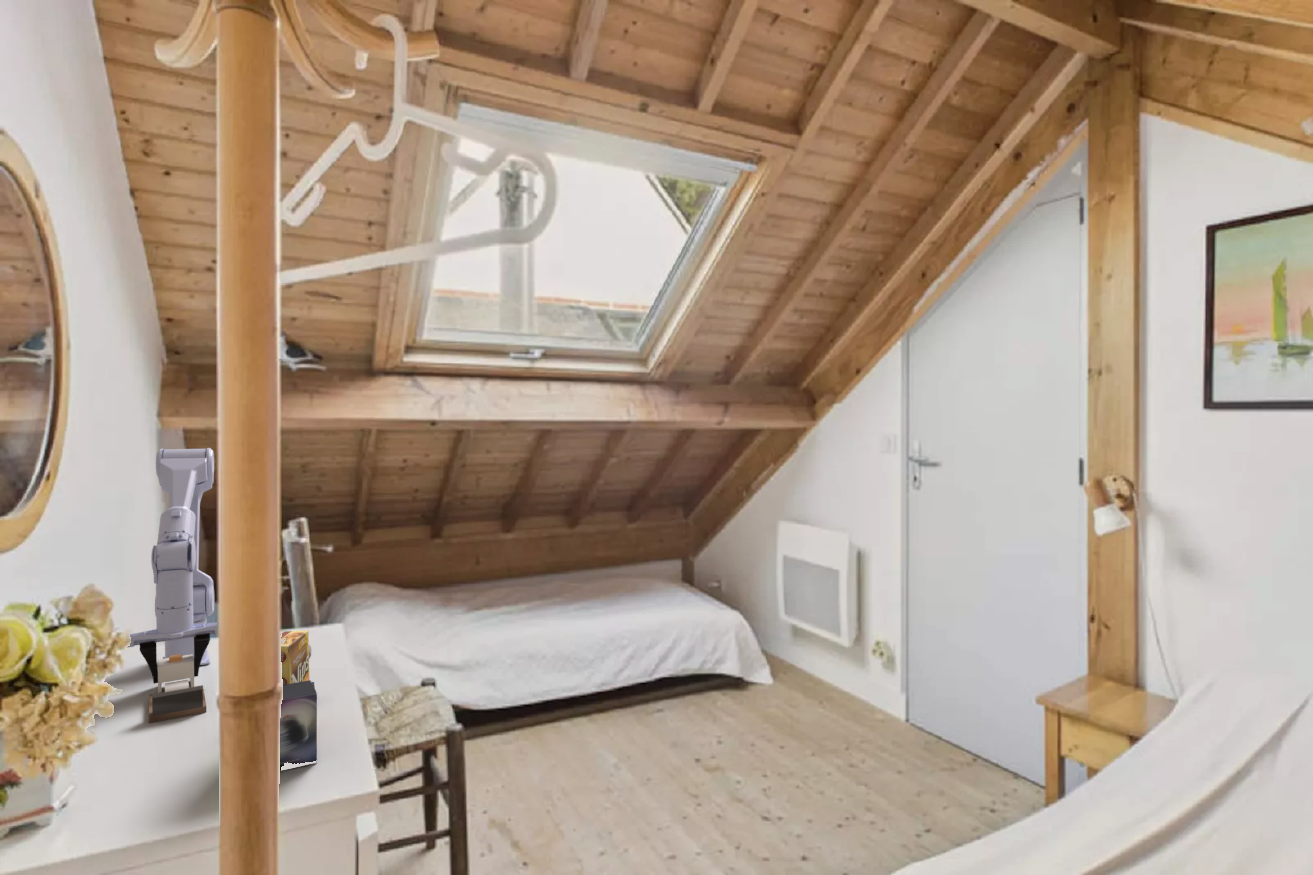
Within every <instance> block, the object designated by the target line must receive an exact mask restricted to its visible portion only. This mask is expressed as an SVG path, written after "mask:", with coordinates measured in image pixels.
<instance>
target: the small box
mask: <svg viewBox="0 0 1313 875" xmlns="http://www.w3.org/2000/svg"><path fill="white" fill-rule="evenodd" d="M312 682H313V681H312V680H310V679H309V681H303V682H298V683H292V684H286V685H283V700H282V704H281V718H280V771H281V767H282V766H284V763H287V762H288V763H292V764H294V763H295V764H297V763H299V764H300V763H305V762H313V761H316V760H317V761H318V757H317V756H318V749H317V748H318V744H317V743H318V732H317V730H318V727H317V726H318V724H317V722H318V721H317V719H318V713H317V712H318V707H317V706H318V702H317V701H318V693H317V691H316V688H314V686H315V685H314V686H313V684H312ZM281 772H282V771H281Z"/></svg>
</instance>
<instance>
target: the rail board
mask: <svg viewBox="0 0 1313 875" xmlns="http://www.w3.org/2000/svg"><path fill="white" fill-rule="evenodd" d="M189 683H190V682H189V679H181V680H176V681H170V682H164V691H162V692H161V693H158V692H156V693H151V694H149V696H148V697H149V699H148V724H152V723H157V722H162V721H167V720H172V719H178V718H182V717H188V716H193V715H198V714H203V713H207V702H206V696H205V689H204V685H203V684H201V685H196V686H195V685H194V687H191V686H190V684H189Z"/></svg>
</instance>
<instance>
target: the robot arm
mask: <svg viewBox="0 0 1313 875" xmlns="http://www.w3.org/2000/svg"><path fill="white" fill-rule="evenodd" d="M214 453H215V452H214V450H213V449H212V448H211V447H207V448H176V449H175V448H174V449H173V448H172V449H170V448H169V449H168V448H166V449H165V448H160V449H158V450H157V452H156V454H155V455H156V456H155V470H156V472H155V473H156V476H157V479H158V483H159V485H160V487H161V490H162V491H163V492H166V493H168V509H166V510H164V511H163V512H162V513H161V515H160V518H159V527H158V535H157V542H156V545H153V546H152V550H151V555H150V556H151V557H150V558H151V560H150V562H151V568H152V573H153V584H155V598H154V614H155V618H156V629H150V630H146V631H141V632H136V633H129V634H130V637H131V643H130V646H128V647H127V646H126V648H134V647H135V646H139V652H140V654H141V655H142V657H143V658H144V660H145V661H146V662H145V663H146V664H147V666H148V668H149V670H150V673H151V676H152V681H153V682H152V683H153V685H154V684H158V658H157V653H158V652H157V643H161V642H164V656H163V657H162V659H165V658H169V656H172V655H179V654H182V656H184V655H191V654H193V659H194V678H195V677H199V672H200V668H201V667H200V666H204V665H210V664H211V658H210V654H209V653H210V652H209V650H208V646H209V644H210V641H211V635H214V636H218V635H217V622H218V621H215V622H208V621H207V618H208V616H209V617H210V616H211V615H212V614H213V613H214V611H215V589H214V588H215V587H214V580H213V578H212V576H210V575H208V574H207V573H205V572H203V571H201V570H200V569H199V564H200V563H199V559H200V558H199V556H200V513H201V512H200V511H201V508H200V507H201V501H202V498H203V496H204V493H205V492H207V491H209V490H211V489H213V484H214V479H215V478H214V476H215V473H214V472H215V454H214Z"/></svg>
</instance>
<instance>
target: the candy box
mask: <svg viewBox="0 0 1313 875" xmlns="http://www.w3.org/2000/svg"><path fill="white" fill-rule="evenodd" d="M281 634H282V637H281V662H282V679H283V685H286V684H292V683H298V682H303V681H309V680H310V659H309V645H310V643H309V642H310V641H309V639H310V638H309V630H289V631H283V632H282V633H281Z"/></svg>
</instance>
